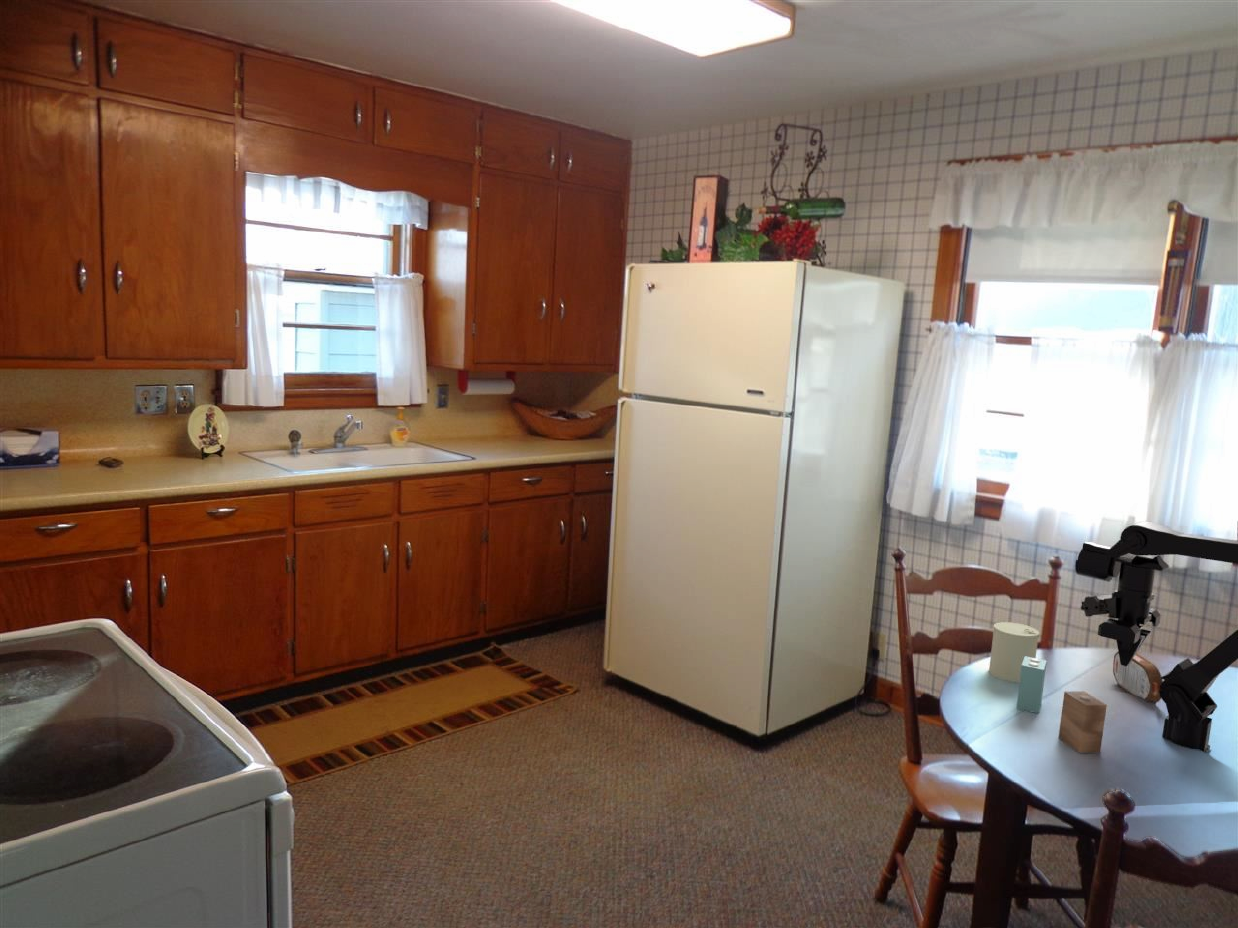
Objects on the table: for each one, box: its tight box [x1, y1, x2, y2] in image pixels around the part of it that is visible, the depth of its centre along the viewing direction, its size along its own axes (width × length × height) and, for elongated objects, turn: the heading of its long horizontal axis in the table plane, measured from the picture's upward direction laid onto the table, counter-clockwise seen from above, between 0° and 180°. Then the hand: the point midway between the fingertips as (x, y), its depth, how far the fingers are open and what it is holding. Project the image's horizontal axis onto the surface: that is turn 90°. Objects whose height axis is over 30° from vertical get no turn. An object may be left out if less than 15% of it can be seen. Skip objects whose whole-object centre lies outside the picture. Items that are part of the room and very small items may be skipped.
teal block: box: [1016, 656, 1048, 714], centre depth 176 cm, size 4×6×9 cm, turn 150°
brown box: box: [1058, 690, 1108, 754], centre depth 159 cm, size 4×6×9 cm, turn 8°
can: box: [988, 621, 1040, 683], centre depth 192 cm, size 9×9×12 cm
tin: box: [1112, 651, 1164, 704], centre depth 188 cm, size 15×3×8 cm, turn 179°
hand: (1124, 665), depth 171 cm, fingers closed
